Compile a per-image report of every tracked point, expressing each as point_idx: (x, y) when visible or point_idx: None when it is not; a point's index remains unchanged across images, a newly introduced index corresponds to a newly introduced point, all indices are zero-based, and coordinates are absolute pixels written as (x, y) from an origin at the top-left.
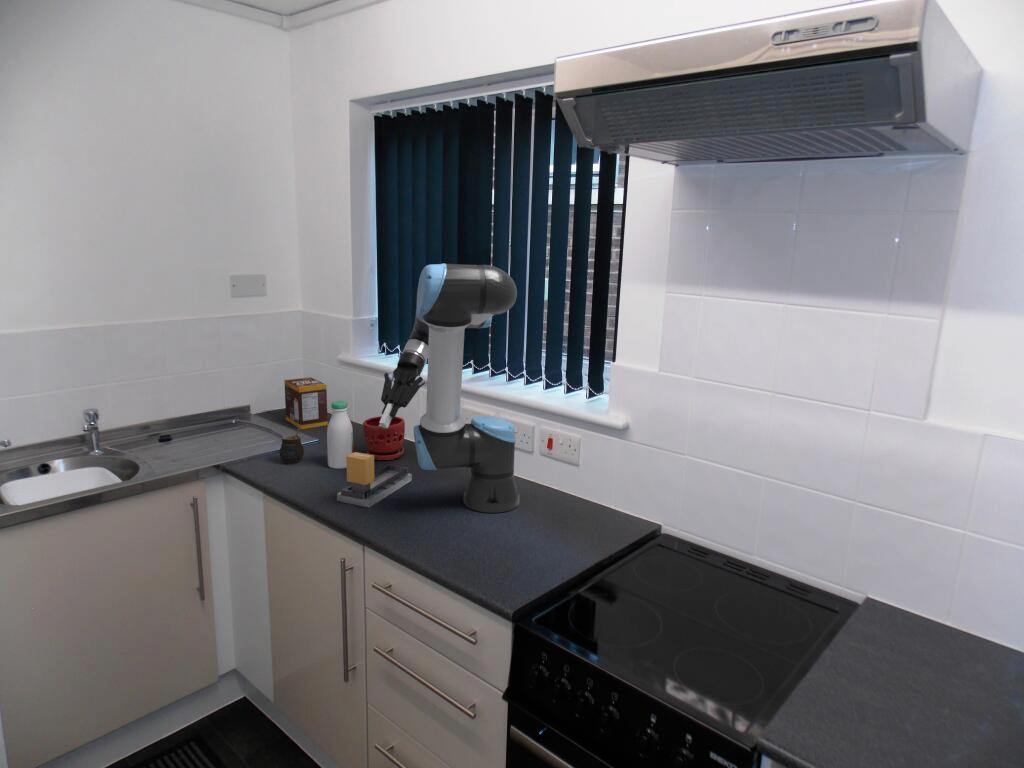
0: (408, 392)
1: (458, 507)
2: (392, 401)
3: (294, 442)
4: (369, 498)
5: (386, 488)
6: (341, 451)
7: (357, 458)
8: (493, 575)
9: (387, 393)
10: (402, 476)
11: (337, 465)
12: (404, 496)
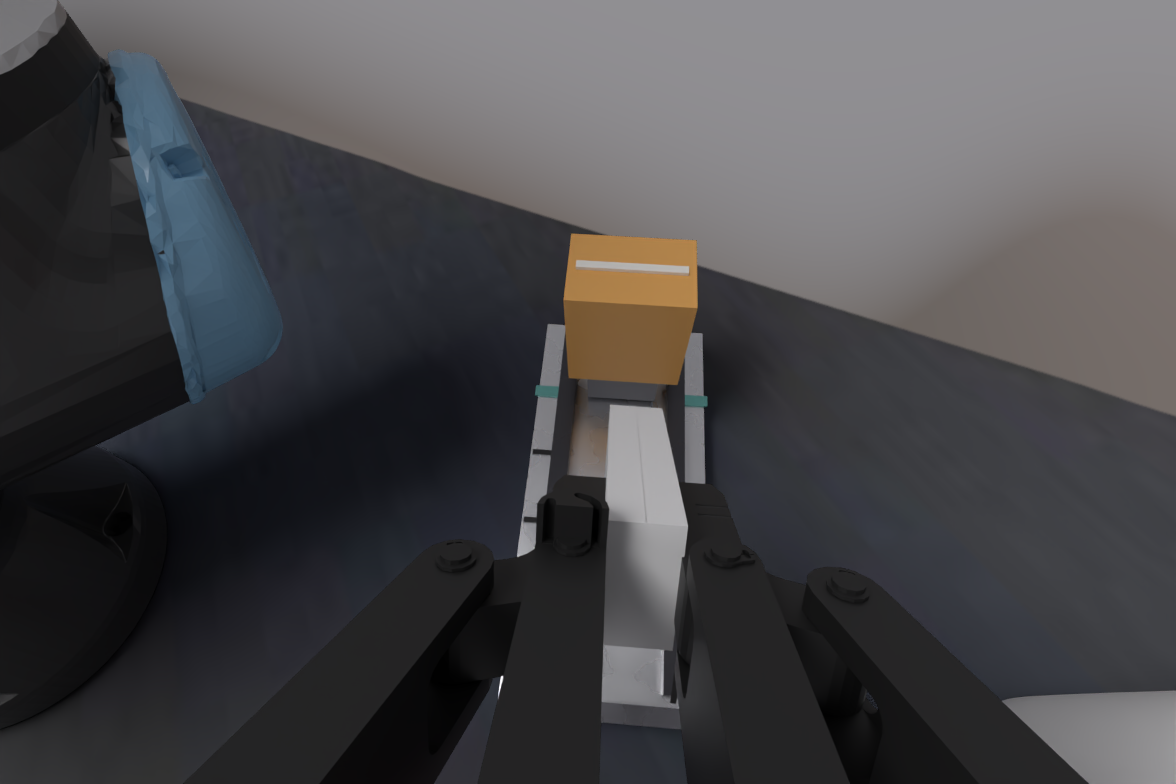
0: (296, 715)
1: (189, 466)
2: (603, 503)
3: None
4: (554, 340)
5: (535, 450)
6: (1051, 712)
7: (622, 236)
8: None
9: (904, 774)
10: None
11: (1008, 700)
12: (458, 487)
